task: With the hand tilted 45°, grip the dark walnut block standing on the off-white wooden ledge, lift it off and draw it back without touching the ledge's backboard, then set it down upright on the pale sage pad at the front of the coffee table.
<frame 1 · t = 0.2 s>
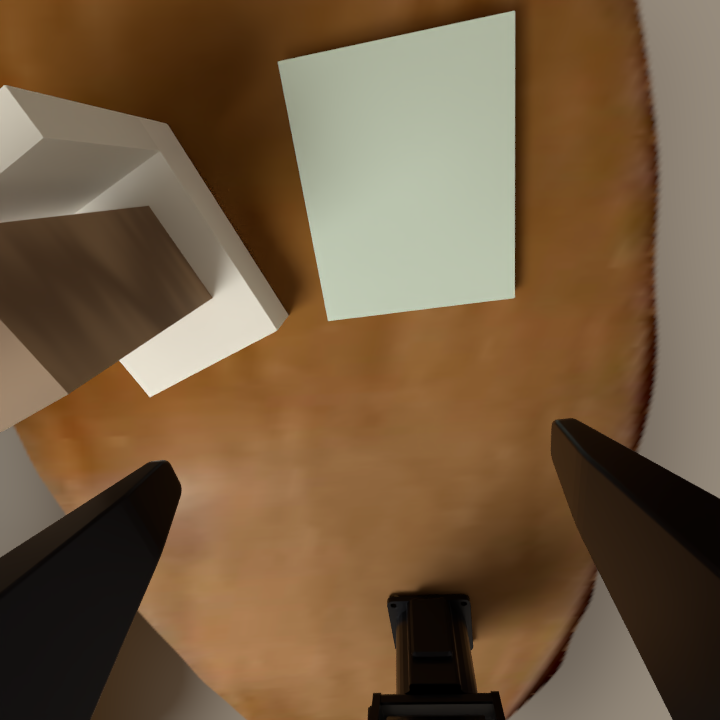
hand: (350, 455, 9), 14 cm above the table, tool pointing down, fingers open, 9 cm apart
walnut block: (144, 277, 20), point 2 cm above the table, touching ledge
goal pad: (406, 189, 20), on the table
ledge: (169, 267, 23), on the table
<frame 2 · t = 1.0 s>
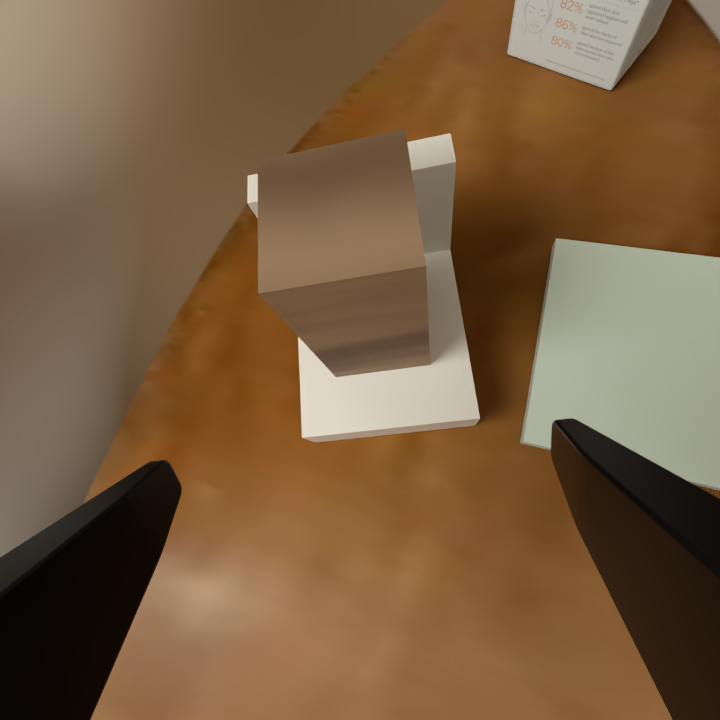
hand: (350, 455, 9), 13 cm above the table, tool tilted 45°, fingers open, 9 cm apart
walnut block: (377, 327, 22), point 2 cm above the table, touching ledge
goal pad: (636, 355, 21), on the table
ledge: (383, 342, 24), on the table
small box: (576, 50, 28), on the table
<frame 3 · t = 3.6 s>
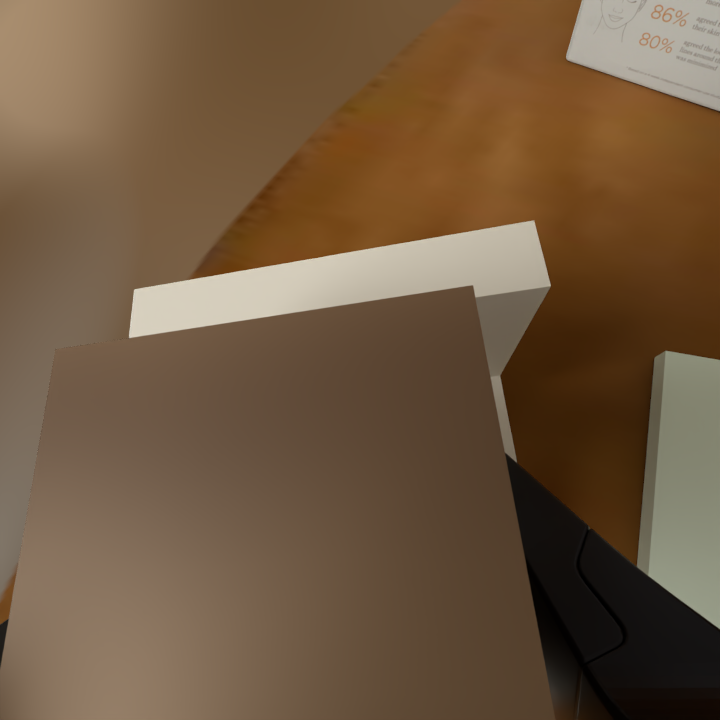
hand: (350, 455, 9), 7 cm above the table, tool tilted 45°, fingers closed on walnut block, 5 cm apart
walnut block: (381, 509, 13), point 2 cm above the table, touching gripper, ledge
ledge: (389, 506, 15), on the table
small box: (666, 54, 20), on the table
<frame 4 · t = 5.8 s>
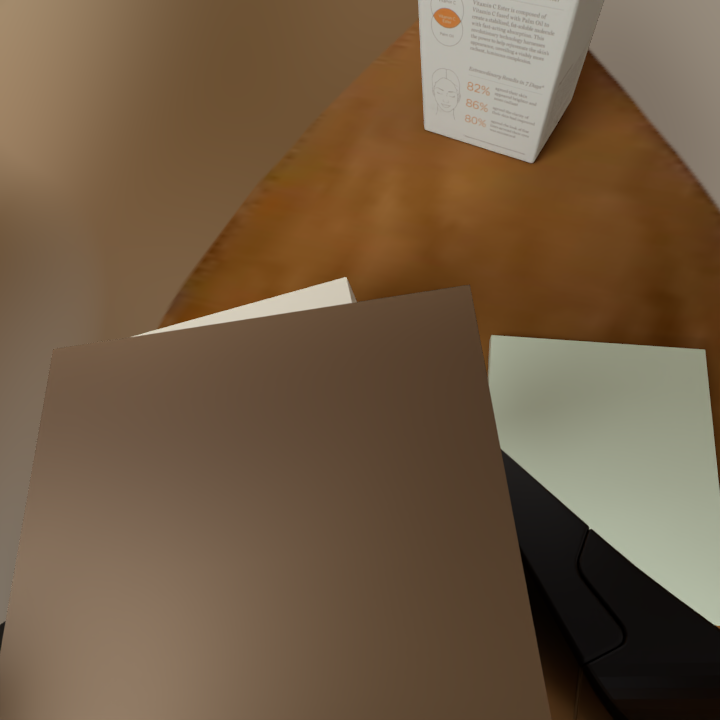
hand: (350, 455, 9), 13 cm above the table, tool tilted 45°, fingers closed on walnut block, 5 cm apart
walnut block: (380, 509, 13), point 8 cm above the table, touching gripper
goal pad: (589, 461, 20), on the table
ledge: (320, 465, 22), on the table
small box: (493, 120, 27), on the table
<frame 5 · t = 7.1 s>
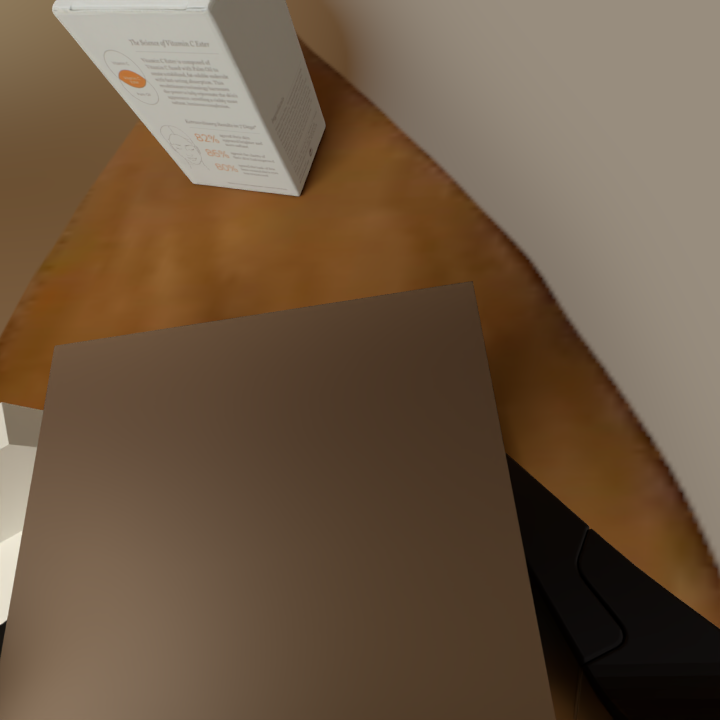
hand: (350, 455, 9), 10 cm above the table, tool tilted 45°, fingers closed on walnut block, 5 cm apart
walnut block: (381, 508, 13), point 6 cm above the table, touching gripper
ledge: (127, 582, 19), on the table
small box: (260, 159, 26), on the table
when the fingers open (7 cm above the table, at t = 8.1 s): walnut block drops 2 cm, resting on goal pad.
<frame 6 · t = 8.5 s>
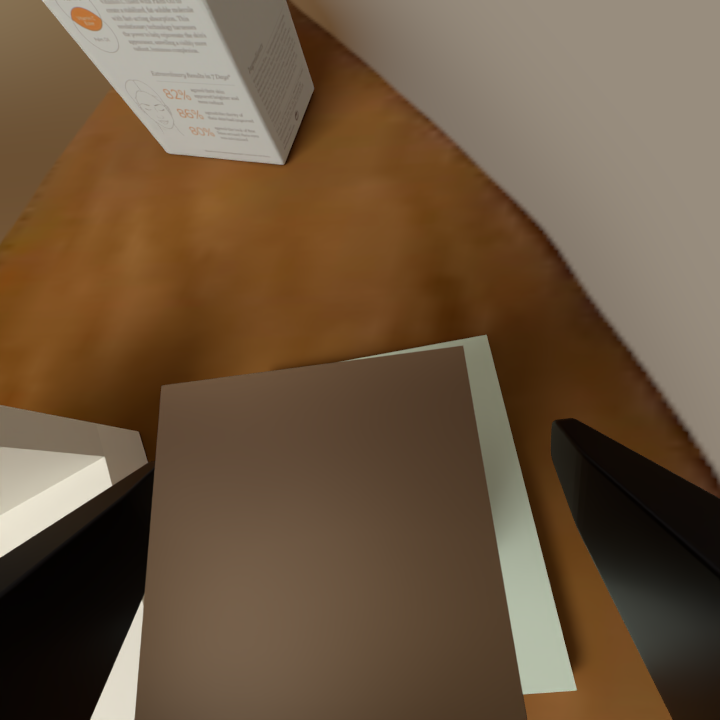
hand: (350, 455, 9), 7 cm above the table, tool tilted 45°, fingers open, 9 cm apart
walnut block: (388, 506, 15), point 1 cm above the table, touching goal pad
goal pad: (390, 506, 16), on the table
ledge: (80, 599, 17), on the table
small box: (241, 127, 24), on the table
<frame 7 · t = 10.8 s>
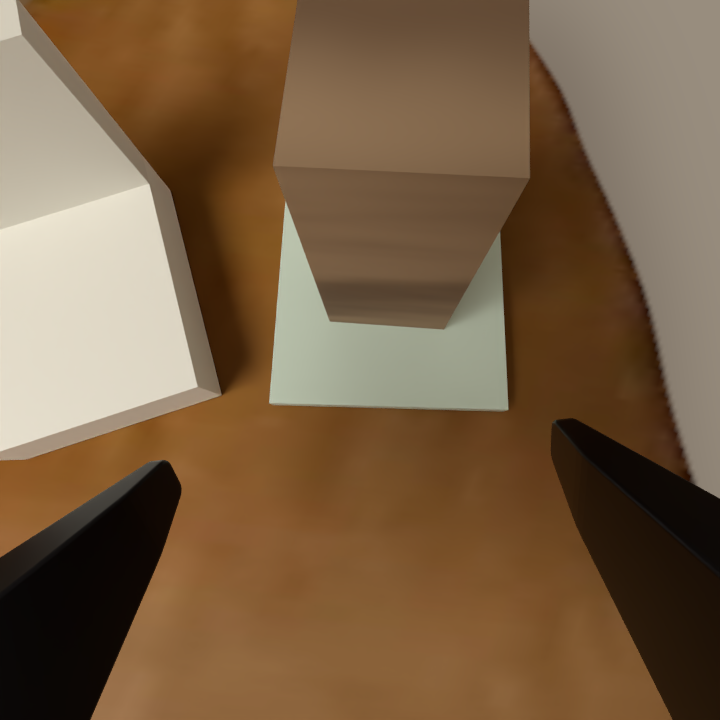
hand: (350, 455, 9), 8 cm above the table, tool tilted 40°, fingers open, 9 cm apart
walnut block: (390, 272, 18), point 1 cm above the table, touching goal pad
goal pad: (389, 280, 19), on the table
ledge: (103, 315, 19), on the table
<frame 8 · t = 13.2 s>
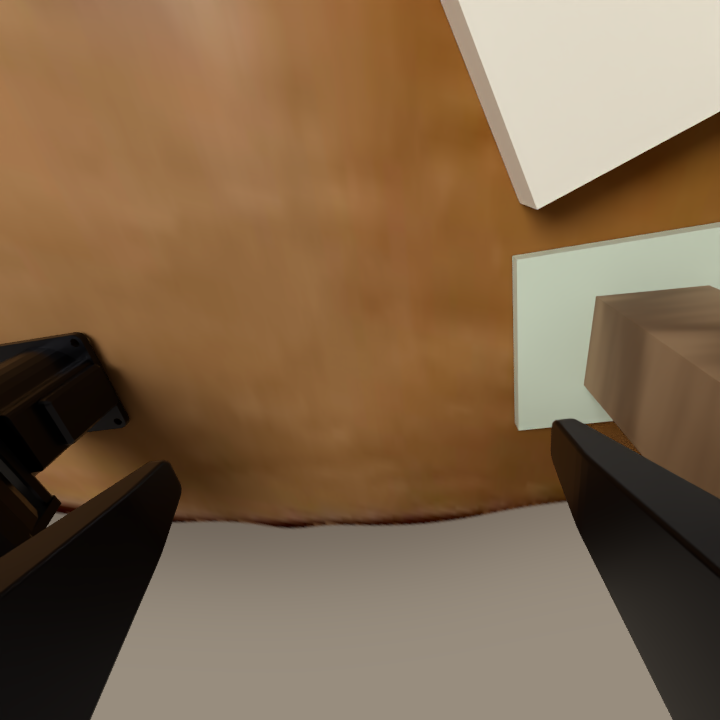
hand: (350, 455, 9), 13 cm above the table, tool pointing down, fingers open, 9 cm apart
walnut block: (641, 338, 20), point 1 cm above the table, touching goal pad
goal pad: (632, 331, 21), on the table
ledge: (617, 16, 15), on the table
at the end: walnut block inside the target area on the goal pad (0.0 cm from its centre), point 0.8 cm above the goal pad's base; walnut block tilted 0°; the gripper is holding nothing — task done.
